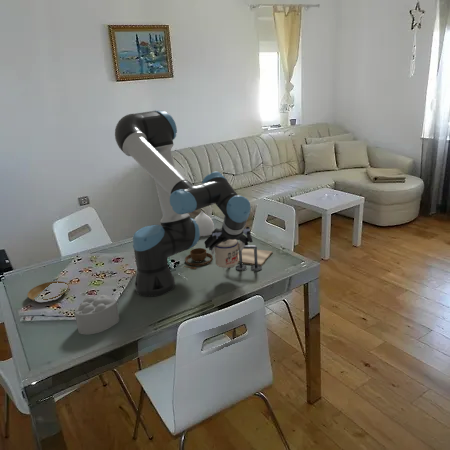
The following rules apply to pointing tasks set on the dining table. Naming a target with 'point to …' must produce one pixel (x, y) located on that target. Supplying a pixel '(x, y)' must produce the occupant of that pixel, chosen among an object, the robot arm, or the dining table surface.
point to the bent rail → (256, 266)
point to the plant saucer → (40, 288)
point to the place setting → (198, 257)
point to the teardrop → (204, 224)
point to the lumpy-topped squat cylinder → (96, 314)
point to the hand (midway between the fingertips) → (226, 249)
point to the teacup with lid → (227, 253)
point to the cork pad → (249, 256)
